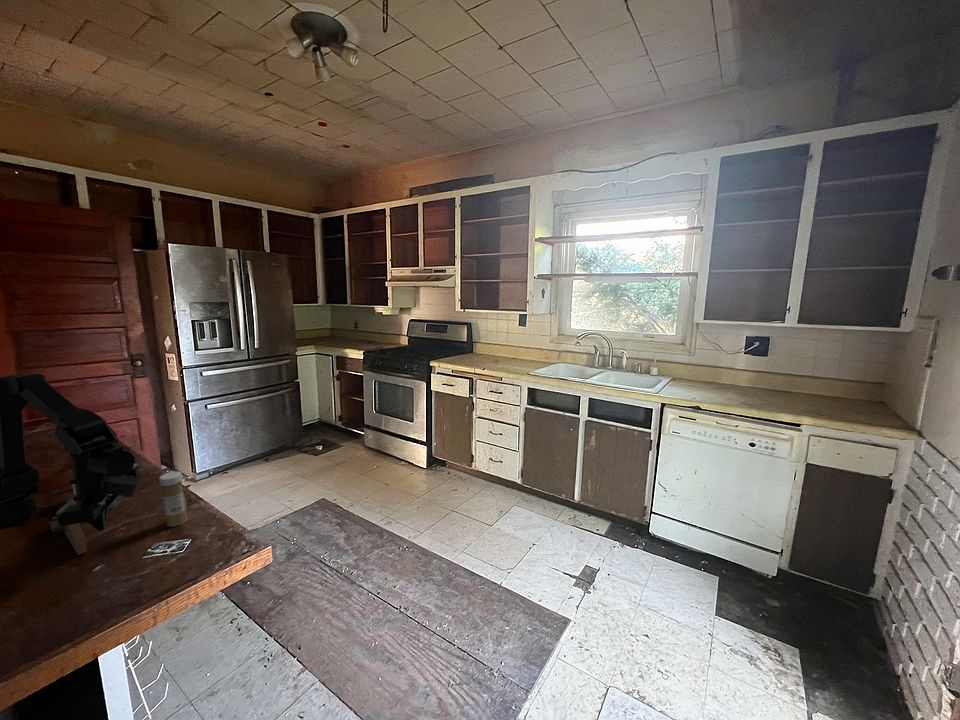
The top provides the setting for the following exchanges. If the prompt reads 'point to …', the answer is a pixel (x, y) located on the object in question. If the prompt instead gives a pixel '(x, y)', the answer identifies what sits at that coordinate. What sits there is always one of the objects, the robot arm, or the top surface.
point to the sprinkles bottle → (173, 498)
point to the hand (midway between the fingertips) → (101, 529)
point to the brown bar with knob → (71, 534)
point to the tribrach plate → (71, 501)
